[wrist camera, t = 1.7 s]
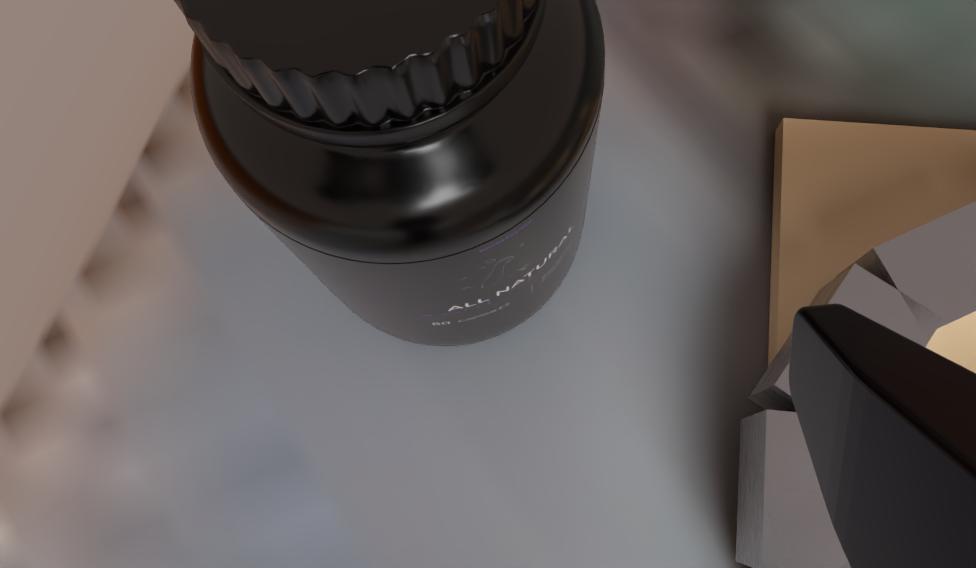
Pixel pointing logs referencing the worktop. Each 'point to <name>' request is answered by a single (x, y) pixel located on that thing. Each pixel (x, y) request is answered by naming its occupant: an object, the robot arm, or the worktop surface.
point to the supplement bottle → (409, 146)
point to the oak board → (860, 208)
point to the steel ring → (776, 431)
